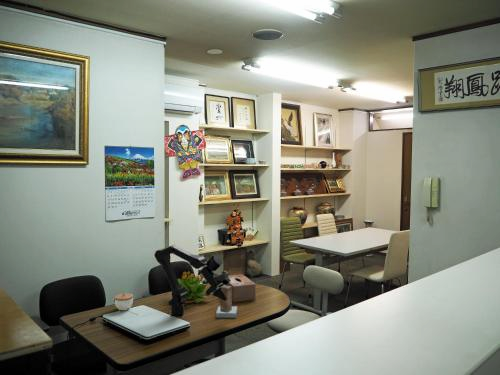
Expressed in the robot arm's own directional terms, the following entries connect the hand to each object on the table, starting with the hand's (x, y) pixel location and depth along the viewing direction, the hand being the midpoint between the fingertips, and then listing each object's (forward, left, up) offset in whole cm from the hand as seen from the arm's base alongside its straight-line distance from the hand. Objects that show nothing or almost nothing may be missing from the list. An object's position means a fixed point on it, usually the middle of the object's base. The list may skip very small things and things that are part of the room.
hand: (228, 299), depth 216 cm
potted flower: (-29, +38, -14) cm, 50 cm away
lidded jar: (-64, +22, -14) cm, 69 cm away
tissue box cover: (+2, +51, -14) cm, 52 cm away
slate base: (-2, +15, -13) cm, 20 cm away
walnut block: (-1, +1, -7) cm, 7 cm away
